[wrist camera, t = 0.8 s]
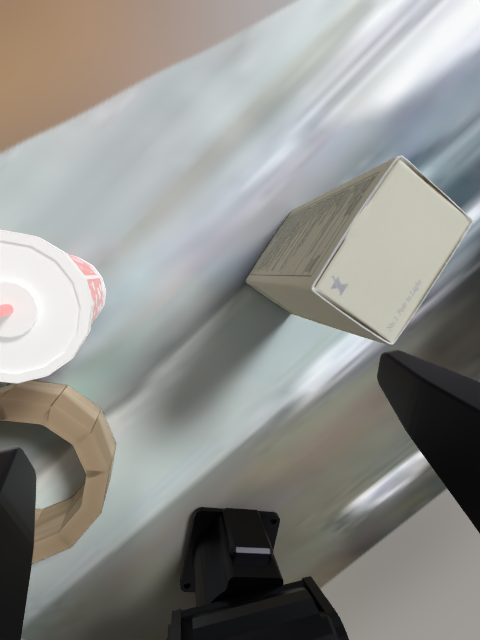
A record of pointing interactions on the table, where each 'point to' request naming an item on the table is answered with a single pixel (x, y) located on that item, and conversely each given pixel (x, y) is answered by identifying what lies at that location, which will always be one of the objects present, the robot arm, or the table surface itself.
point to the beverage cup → (43, 306)
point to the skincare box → (363, 252)
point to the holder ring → (90, 445)
